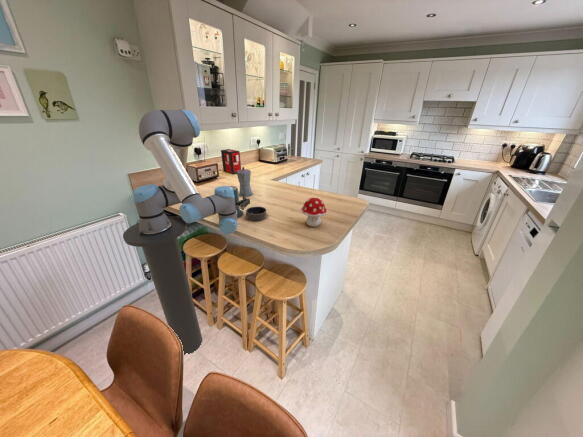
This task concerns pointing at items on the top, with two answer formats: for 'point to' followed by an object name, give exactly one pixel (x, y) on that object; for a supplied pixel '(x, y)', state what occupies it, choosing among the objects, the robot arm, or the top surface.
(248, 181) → the moka pot
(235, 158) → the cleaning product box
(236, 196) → the can
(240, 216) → the coaster
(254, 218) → the bowl
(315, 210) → the decorative mushroom
